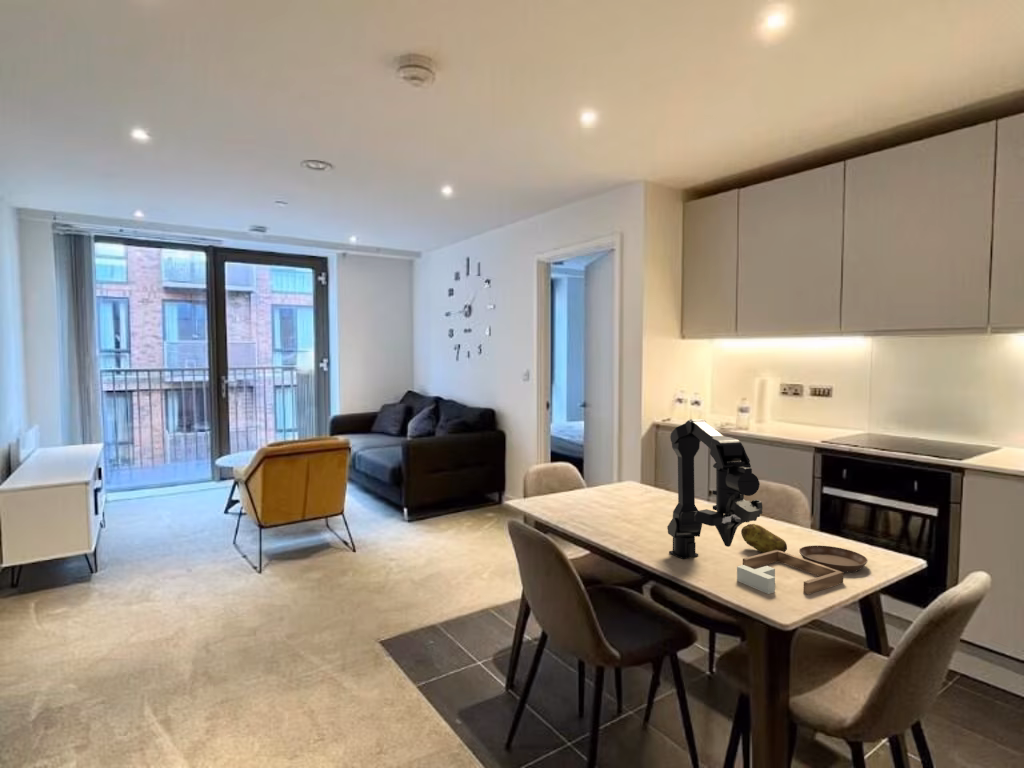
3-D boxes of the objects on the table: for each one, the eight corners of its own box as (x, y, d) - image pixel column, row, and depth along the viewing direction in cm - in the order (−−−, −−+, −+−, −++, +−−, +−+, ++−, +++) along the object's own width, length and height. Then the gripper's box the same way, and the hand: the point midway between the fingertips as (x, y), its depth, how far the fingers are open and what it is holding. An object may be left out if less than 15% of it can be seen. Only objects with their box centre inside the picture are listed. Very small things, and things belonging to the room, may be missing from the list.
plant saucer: (806, 550, 182) (806, 540, 182) (871, 562, 171) (871, 552, 170) (792, 566, 168) (792, 556, 168) (862, 581, 157) (862, 570, 157)
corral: (742, 568, 166) (742, 558, 166) (777, 559, 173) (777, 549, 173) (807, 594, 148) (807, 583, 148) (843, 583, 155) (843, 572, 155)
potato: (776, 560, 172) (776, 534, 172) (737, 548, 183) (737, 524, 182) (789, 554, 178) (790, 528, 177) (750, 543, 188) (751, 519, 187)
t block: (736, 580, 157) (737, 566, 157) (755, 575, 161) (755, 561, 161) (768, 594, 148) (768, 579, 148) (787, 588, 152) (787, 573, 152)
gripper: (727, 497, 139) (727, 561, 139) (777, 489, 148) (777, 548, 148) (693, 489, 148) (693, 548, 149) (742, 481, 157) (742, 537, 158)
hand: (727, 546), depth 151 cm, fingers closed
